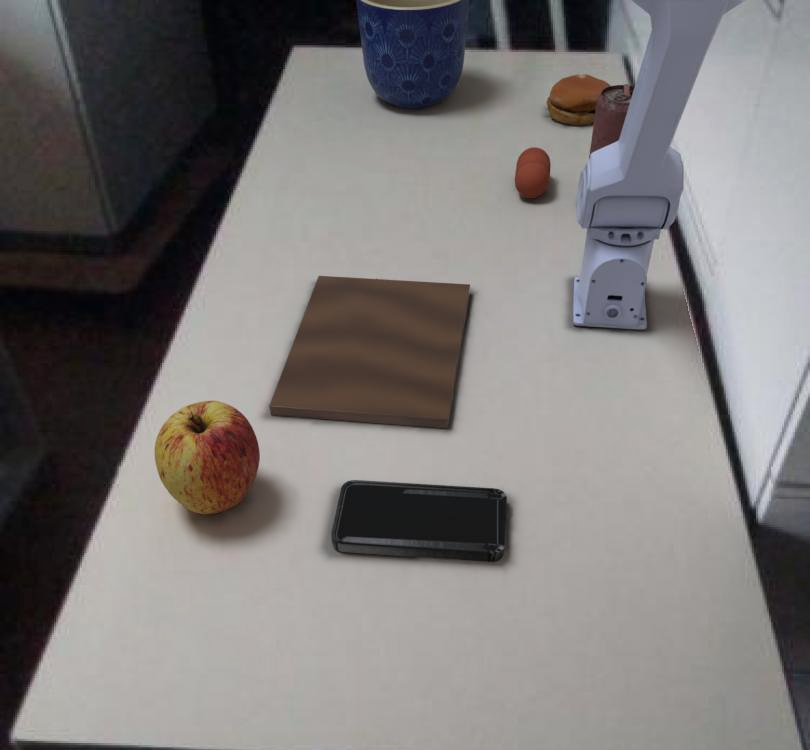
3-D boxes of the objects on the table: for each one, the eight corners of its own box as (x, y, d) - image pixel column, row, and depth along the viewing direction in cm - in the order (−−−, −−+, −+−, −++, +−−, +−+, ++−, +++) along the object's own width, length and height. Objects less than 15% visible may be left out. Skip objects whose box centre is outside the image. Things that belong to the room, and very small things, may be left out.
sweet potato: (547, 205, 113) (550, 171, 110) (512, 204, 114) (515, 170, 110) (549, 175, 119) (552, 141, 115) (516, 173, 119) (518, 140, 116)
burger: (559, 130, 128) (562, 97, 124) (538, 105, 134) (541, 73, 131) (620, 122, 129) (625, 89, 126) (597, 98, 135) (601, 66, 132)
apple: (246, 542, 75) (226, 459, 68) (152, 526, 77) (121, 443, 69) (280, 471, 81) (264, 388, 73) (191, 457, 82) (167, 374, 75)
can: (627, 192, 115) (647, 82, 104) (631, 216, 111) (652, 103, 100) (582, 191, 115) (597, 81, 105) (583, 214, 111) (599, 102, 101)
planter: (354, 82, 142) (347, -24, 130) (454, 72, 144) (456, -34, 132) (370, 124, 131) (364, 13, 119) (478, 113, 133) (482, 2, 121)
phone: (504, 554, 72) (329, 542, 73) (503, 563, 73) (330, 551, 74) (507, 488, 77) (343, 478, 78) (506, 496, 78) (344, 486, 79)
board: (447, 428, 84) (447, 419, 83) (270, 415, 86) (269, 406, 85) (469, 293, 100) (470, 284, 99) (319, 284, 102) (318, 275, 101)
